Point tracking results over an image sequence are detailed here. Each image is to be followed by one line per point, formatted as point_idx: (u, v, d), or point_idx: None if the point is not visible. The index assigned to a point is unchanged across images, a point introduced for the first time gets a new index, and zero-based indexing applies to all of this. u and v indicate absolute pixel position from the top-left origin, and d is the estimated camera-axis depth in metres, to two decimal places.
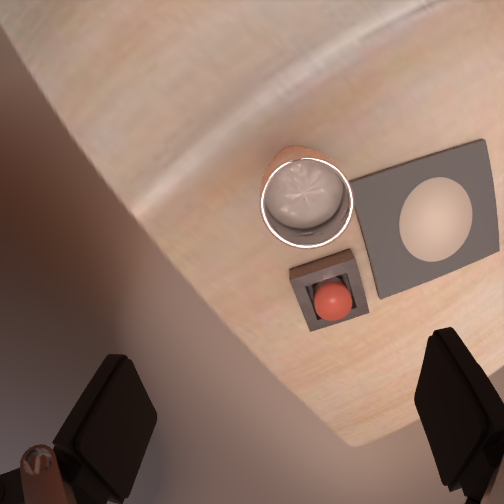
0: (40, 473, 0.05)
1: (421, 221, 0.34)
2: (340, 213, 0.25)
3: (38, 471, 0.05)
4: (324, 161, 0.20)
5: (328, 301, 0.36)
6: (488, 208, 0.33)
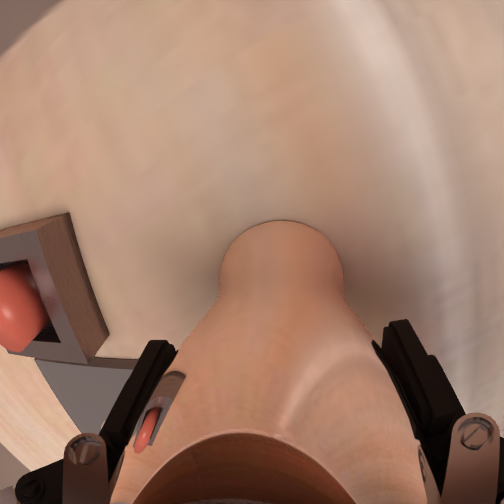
0: (85, 462, 0.05)
1: None
2: None
3: (84, 459, 0.06)
4: None
5: (2, 312, 0.13)
6: None
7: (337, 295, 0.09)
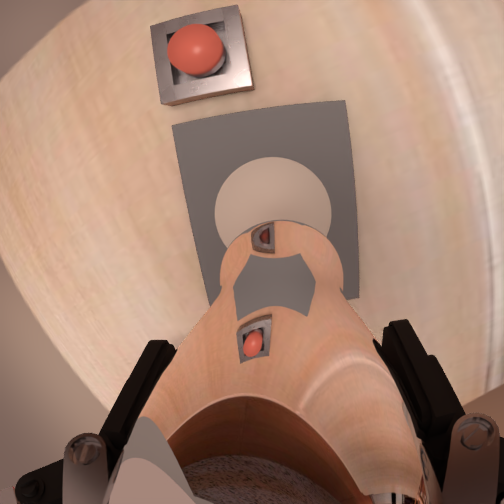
0: (85, 462, 0.05)
1: (277, 190, 0.29)
2: None
3: (84, 459, 0.06)
4: None
5: (201, 40, 0.21)
6: None
7: (337, 293, 0.09)
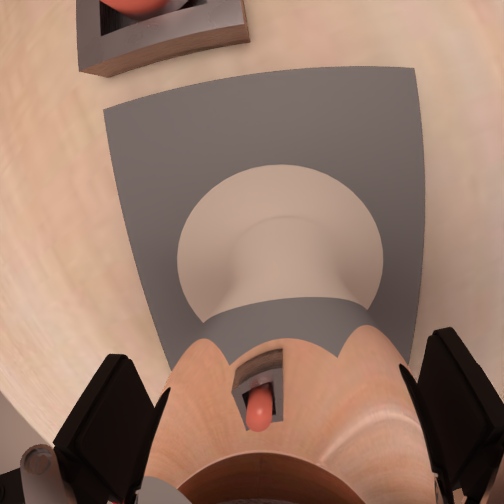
0: (40, 473, 0.05)
1: None
2: None
3: (39, 470, 0.05)
4: None
5: None
6: None
7: (342, 284, 0.10)
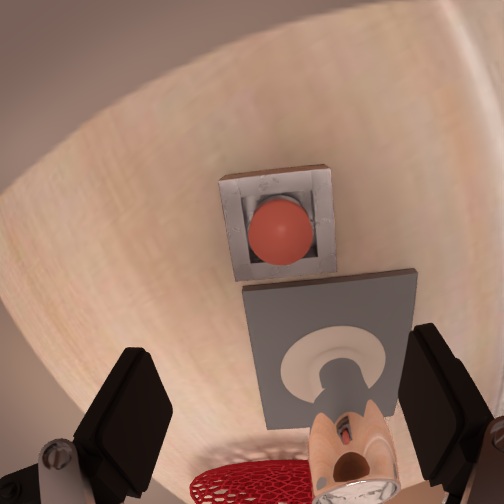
0: (59, 468, 0.05)
1: None
2: None
3: (57, 465, 0.05)
4: (384, 502, 0.17)
5: (290, 228, 0.21)
6: None
7: (367, 393, 0.24)
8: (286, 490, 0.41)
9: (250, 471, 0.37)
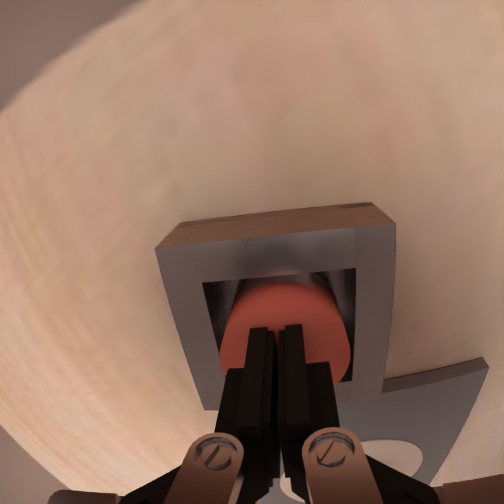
0: (210, 464, 0.06)
1: None
2: None
3: (209, 460, 0.06)
4: None
5: (306, 350, 0.10)
6: None
7: None
8: None
9: None
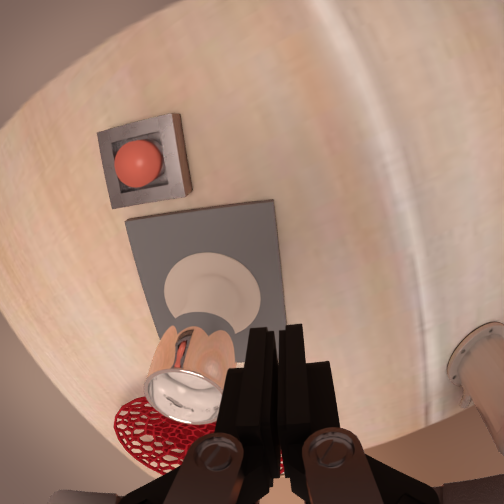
0: (210, 464, 0.06)
1: None
2: (172, 388, 0.26)
3: (209, 460, 0.06)
4: None
5: (141, 158, 0.27)
6: None
7: (220, 309, 0.29)
8: None
9: None
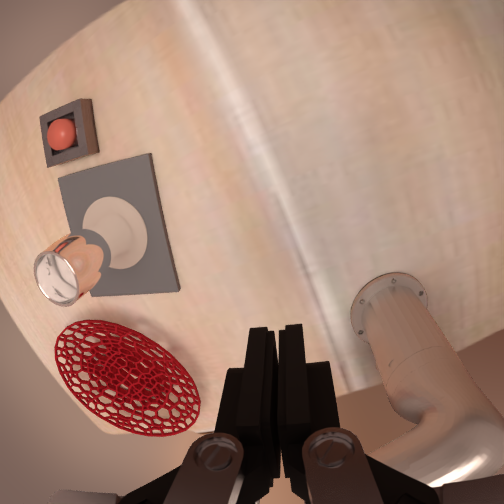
0: (210, 464, 0.06)
1: None
2: (62, 285, 0.33)
3: (209, 460, 0.06)
4: (77, 296, 0.29)
5: (61, 130, 0.35)
6: (123, 286, 0.46)
7: (102, 231, 0.36)
8: (133, 383, 0.54)
9: (92, 345, 0.50)
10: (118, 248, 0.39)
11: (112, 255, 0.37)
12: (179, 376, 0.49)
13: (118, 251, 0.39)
